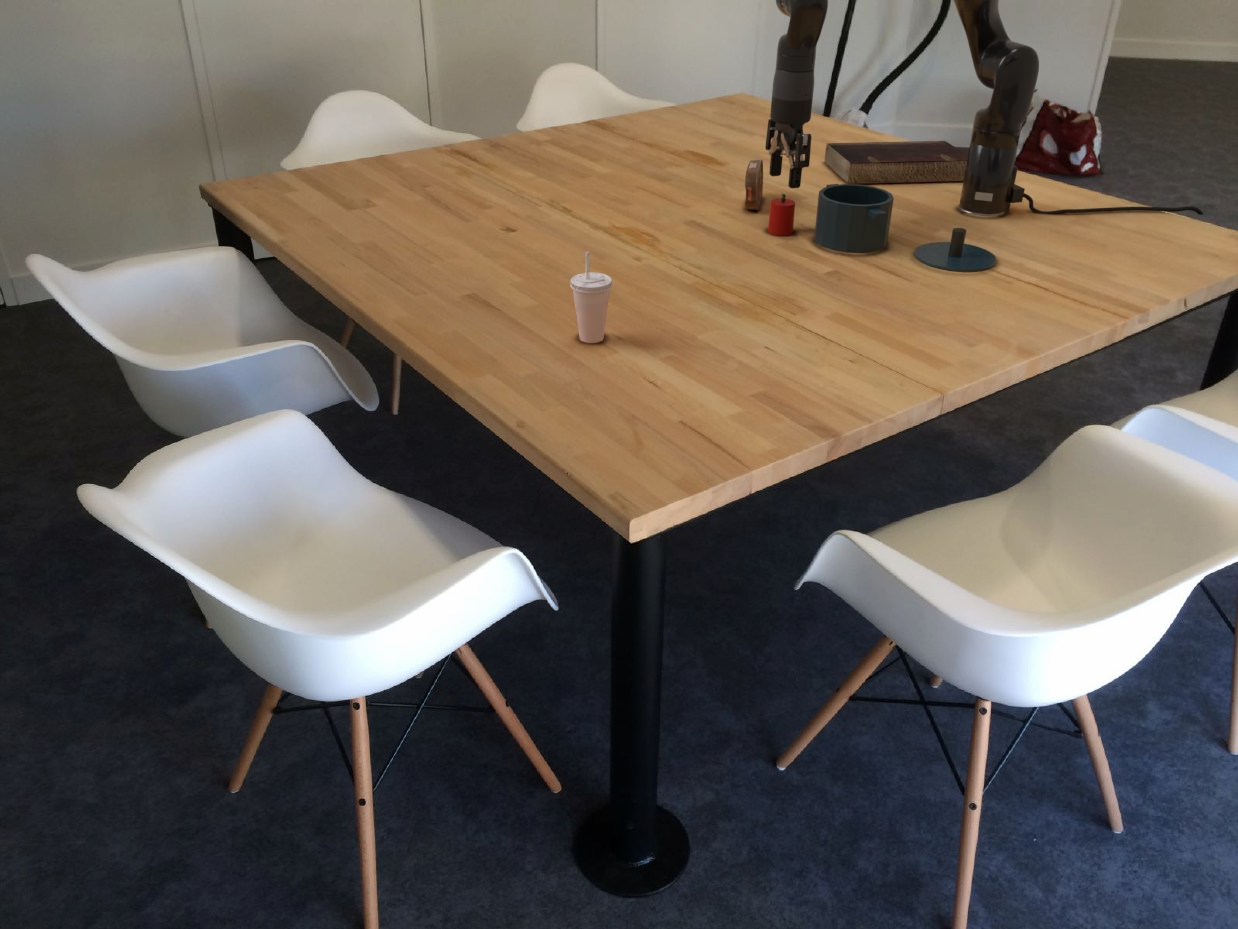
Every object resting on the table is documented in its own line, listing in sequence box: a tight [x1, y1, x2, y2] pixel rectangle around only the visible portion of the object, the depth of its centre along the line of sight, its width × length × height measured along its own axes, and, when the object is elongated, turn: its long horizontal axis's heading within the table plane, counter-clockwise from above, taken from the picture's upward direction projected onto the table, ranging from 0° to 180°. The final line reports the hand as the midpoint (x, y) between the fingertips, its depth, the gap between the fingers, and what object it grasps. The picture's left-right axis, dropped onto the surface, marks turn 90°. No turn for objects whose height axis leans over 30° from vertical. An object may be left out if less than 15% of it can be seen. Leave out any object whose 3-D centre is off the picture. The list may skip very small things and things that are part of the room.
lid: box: [913, 227, 997, 273], centre depth 195 cm, size 15×15×6 cm
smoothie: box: [570, 251, 613, 344], centre depth 162 cm, size 6×6×14 cm
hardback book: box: [824, 140, 968, 184], centre depth 245 cm, size 29×19×5 cm, turn 97°
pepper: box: [767, 193, 796, 237], centre depth 208 cm, size 5×5×8 cm
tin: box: [744, 159, 764, 211], centre depth 223 cm, size 15×3×8 cm, turn 168°
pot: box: [813, 183, 894, 254], centre depth 202 cm, size 14×19×10 cm
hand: (784, 181), depth 205 cm, fingers open, 8 cm apart
